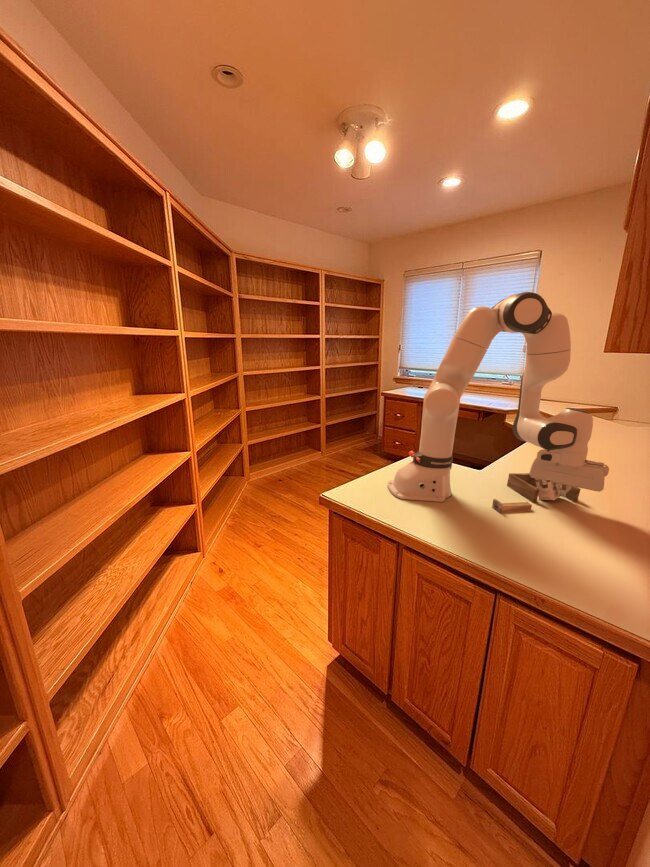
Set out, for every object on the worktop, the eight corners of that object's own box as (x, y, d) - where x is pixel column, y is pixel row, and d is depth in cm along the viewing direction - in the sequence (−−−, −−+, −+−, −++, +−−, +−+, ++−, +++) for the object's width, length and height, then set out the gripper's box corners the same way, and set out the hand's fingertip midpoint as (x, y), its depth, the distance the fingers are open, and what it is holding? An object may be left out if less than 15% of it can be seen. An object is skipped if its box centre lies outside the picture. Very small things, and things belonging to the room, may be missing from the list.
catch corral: (533, 502, 111) (536, 489, 110) (506, 485, 125) (509, 473, 123) (577, 502, 113) (580, 488, 111) (546, 485, 126) (549, 473, 125)
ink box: (548, 494, 118) (542, 462, 119) (564, 494, 114) (558, 461, 115) (538, 499, 114) (532, 466, 114) (554, 500, 110) (548, 466, 110)
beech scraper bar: (532, 511, 105) (534, 502, 104) (499, 513, 103) (500, 504, 102) (524, 506, 109) (526, 497, 108) (491, 508, 107) (493, 499, 106)
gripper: (610, 461, 103) (601, 501, 106) (534, 449, 115) (528, 485, 119) (610, 466, 98) (601, 508, 102) (531, 453, 111) (525, 490, 114)
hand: (561, 495), depth 110 cm, fingers closed
